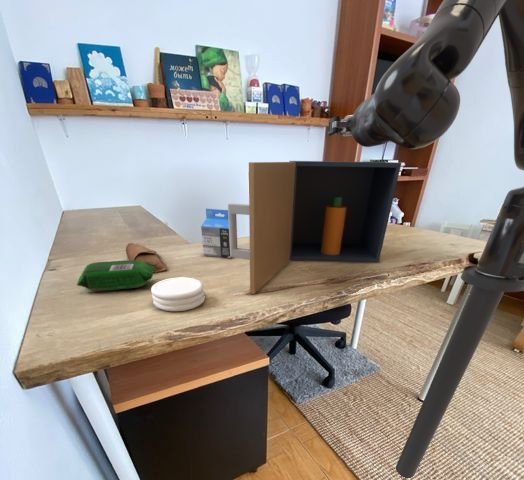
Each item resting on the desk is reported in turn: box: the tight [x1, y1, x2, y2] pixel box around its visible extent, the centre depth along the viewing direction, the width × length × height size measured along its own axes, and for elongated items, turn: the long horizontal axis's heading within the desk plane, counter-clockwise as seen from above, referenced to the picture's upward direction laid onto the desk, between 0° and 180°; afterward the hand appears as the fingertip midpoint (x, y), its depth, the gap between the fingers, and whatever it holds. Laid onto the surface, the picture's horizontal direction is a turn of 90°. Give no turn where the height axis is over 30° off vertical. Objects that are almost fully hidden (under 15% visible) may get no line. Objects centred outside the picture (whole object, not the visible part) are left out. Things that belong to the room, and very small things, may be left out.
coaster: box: [150, 276, 206, 312], centre depth 58 cm, size 10×10×4 cm
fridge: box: [288, 160, 402, 263], centre depth 85 cm, size 18×26×24 cm
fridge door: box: [227, 161, 296, 295], centre depth 67 cm, size 6×26×24 cm, turn 159°
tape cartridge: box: [200, 208, 233, 259], centre depth 84 cm, size 9×4×12 cm, turn 72°
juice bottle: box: [321, 196, 347, 255], centre depth 84 cm, size 6×6×15 cm
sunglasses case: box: [125, 242, 167, 274], centre depth 79 cm, size 18×7×7 cm, turn 26°
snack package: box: [76, 259, 158, 292], centre depth 64 cm, size 7×16×5 cm, turn 104°
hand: (357, 129), depth 65 cm, fingers open, 8 cm apart
